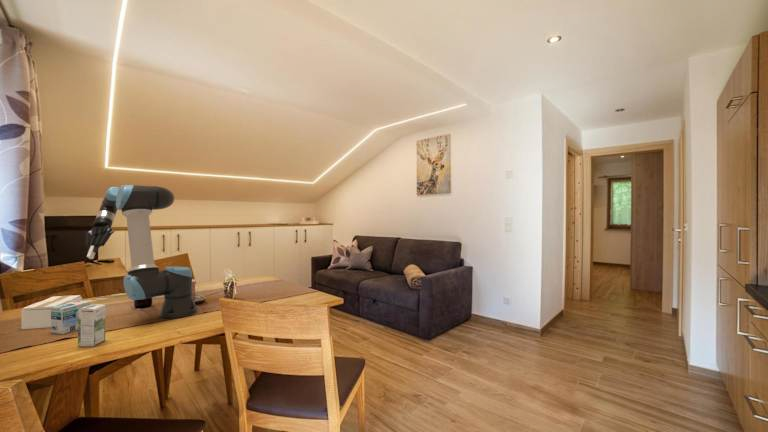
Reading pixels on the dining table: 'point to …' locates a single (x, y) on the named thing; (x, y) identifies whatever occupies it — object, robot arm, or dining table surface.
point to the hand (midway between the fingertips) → (89, 257)
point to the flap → (62, 298)
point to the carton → (40, 314)
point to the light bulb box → (66, 317)
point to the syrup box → (91, 325)
